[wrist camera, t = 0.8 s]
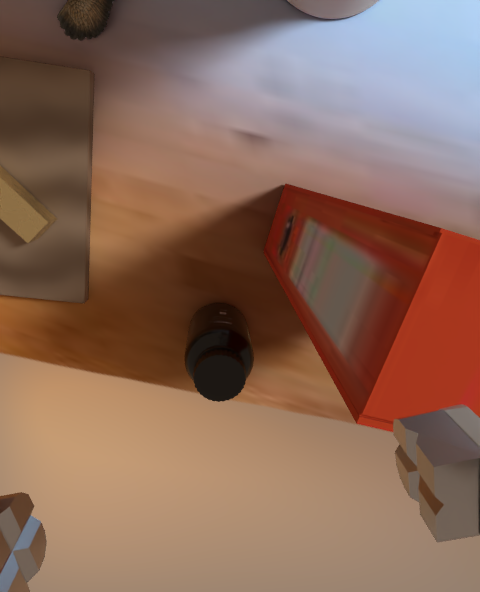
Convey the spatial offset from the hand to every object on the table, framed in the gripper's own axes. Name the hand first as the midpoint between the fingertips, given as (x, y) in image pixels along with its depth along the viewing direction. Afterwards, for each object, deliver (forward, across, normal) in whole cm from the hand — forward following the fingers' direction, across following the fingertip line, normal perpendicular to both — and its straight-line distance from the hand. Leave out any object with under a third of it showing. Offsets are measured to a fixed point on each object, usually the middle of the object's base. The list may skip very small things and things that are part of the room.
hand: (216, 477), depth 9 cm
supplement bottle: (+38, +2, +12) cm, 40 cm away
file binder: (+38, -14, +4) cm, 41 cm away
